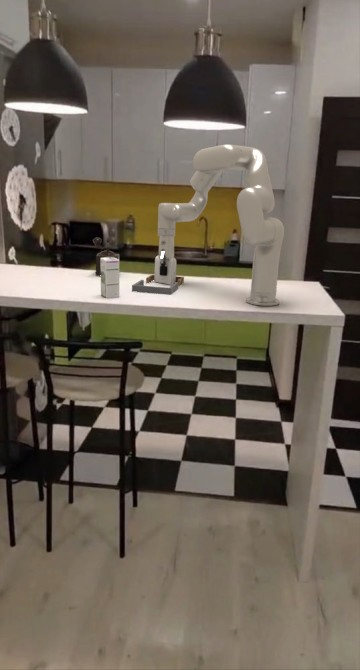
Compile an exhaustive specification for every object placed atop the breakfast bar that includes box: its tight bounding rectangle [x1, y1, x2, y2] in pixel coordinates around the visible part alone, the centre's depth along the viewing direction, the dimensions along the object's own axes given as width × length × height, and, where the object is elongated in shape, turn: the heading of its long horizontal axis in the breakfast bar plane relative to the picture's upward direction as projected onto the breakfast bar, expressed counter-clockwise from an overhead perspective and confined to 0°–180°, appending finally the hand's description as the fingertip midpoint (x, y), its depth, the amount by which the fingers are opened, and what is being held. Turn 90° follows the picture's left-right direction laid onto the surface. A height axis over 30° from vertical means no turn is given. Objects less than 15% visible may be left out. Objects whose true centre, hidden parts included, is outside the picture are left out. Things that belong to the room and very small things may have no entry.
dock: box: [145, 274, 185, 287], centre depth 224 cm, size 9×15×2 cm, turn 78°
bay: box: [131, 279, 179, 295], centre depth 208 cm, size 14×16×2 cm
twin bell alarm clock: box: [92, 237, 120, 276], centre depth 234 cm, size 16×11×18 cm
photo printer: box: [153, 255, 178, 286], centre depth 222 cm, size 10×4×12 cm, turn 54°
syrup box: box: [100, 257, 120, 299], centre depth 191 cm, size 6×6×14 cm
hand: (165, 273), depth 223 cm, fingers closed on photo printer, 5 cm apart
